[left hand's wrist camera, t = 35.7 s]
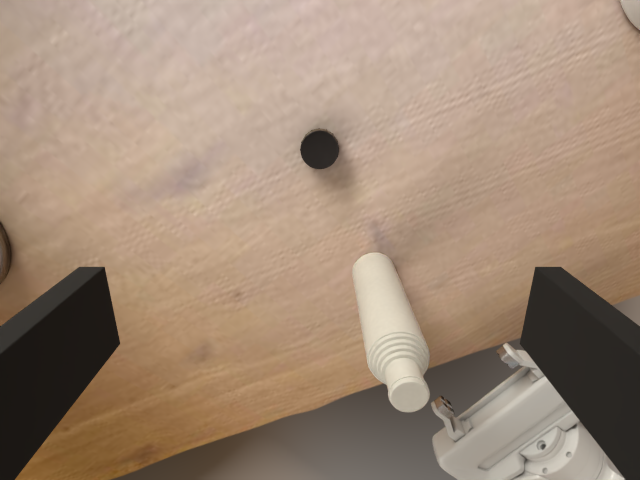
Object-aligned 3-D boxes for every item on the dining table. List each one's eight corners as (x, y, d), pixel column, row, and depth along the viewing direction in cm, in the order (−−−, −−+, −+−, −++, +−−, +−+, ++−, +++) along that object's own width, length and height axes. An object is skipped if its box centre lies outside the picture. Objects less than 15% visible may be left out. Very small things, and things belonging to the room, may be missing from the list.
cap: (341, 131, 45) (342, 133, 43) (334, 168, 46) (335, 172, 44) (304, 125, 45) (303, 127, 43) (298, 162, 46) (297, 165, 44)
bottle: (370, 298, 52) (403, 436, 32) (343, 270, 51) (359, 395, 30) (403, 273, 51) (459, 399, 30) (376, 243, 49) (416, 355, 29)
